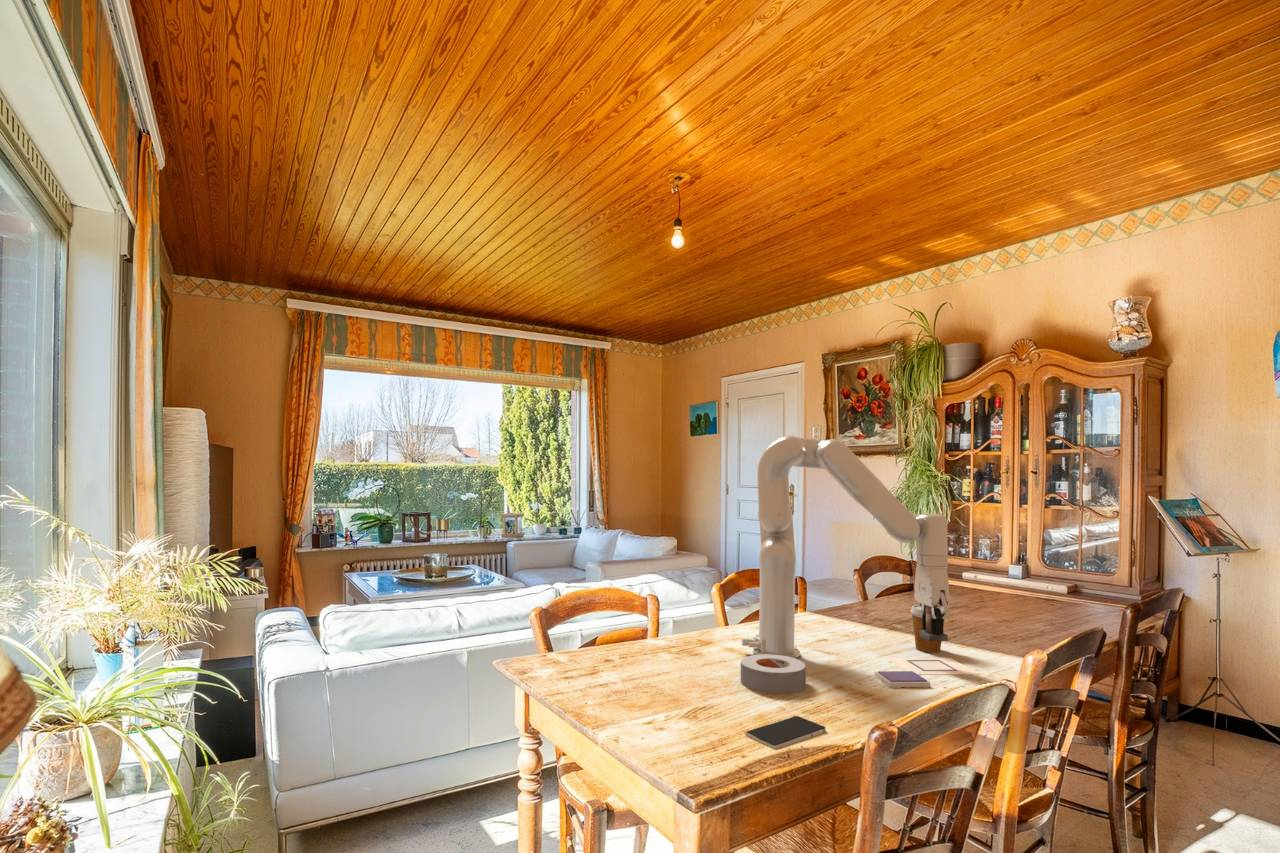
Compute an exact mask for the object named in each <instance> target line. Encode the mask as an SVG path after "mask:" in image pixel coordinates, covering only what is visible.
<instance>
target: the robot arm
mask: <svg viewBox="0 0 1280 853" xmlns="http://www.w3.org/2000/svg"><path fill="white" fill-rule="evenodd" d="M760 456H761V457H760V459H759V462H758V465H757V498H758V499H757V500H758V512H757V517H758V521H759V532H760V544H761V545H760V547H761V548H760V552H759V560H758V561H759V562H758V563H759V606H758V607H759V614H758V617H759V618H758V627H759V628H758V634H755V637H752V638H741V646H742V647H748V648H753V649H752V652H753V655H760V654H771V655H781V656H787V657H792V658H796V659H798V658H799V657H800V656H801V651H800V649H799V648H796V647H795V612H796V611H795V609H796V608H795V607H796V606H795V604H796V602H795V601H796V600H795V599H796V596H795V593H796V592H795V590H796V567H797V566H796V564H797V563H796V561H797V560H796V558H797V557H796V556H797V554H796V547H795V535H794V533H795V532H794V520H793V518H794V516H793V509H792V506H791V501H790V481H789V480H790V479H789V474H790V471H791V468H793V467H796V468H807V469H808V468H809V469H817V470H818V469H819V470H820V469H823V470H825V471H826V472H827V473H828V474H829V475H830V476H831V477H832V478H833V479H834V480H835V481H836V482H837V483H838V484H839V485H840V487H842V488H843V490H844V491H845V492H846V493H847V495H849V497H850V498H852V499H853V500H854V501H855V502H856V503H857V504H859V505H860V506H861V507H863V508H864V509H865V510H866V511H867V512H868V513H870V515H872V517H873V518H874V519H876V521H877V522H878V523H879V524H880V525H881V526H882V528H884V529H885V531H886V533H887V535H889V536H890V537H891V538H892V539H894V540H895V541H897V542H899V543H901V544H908V543H909V544H911V543H913V542H914V541H916V567H915V568H916V569H915V572H914V573H915V576H914V590H913V596H914V597H913V598H914V600H915V601H916V602H918V603H919V605H920V606H921V613H922V629H923V630H926V611H925V609H926V606H929V607H931V610H932V618H931V633H932V634H943V633H944V626H943V619H944V615H945V613H946V614H947V613H948V612H949V604H950V585H949V574H948V568H949V567H948V566H949V564H948V562H949V561H948V557H949V556H948V553H949V552H948V519H947V517H946V516H945V515H943V514H939V513H920V514H918V513H911V512H910V511H909V510H908V509H907V507H905V506H904V505H903V504H902V502H900V500H899V499H898V498H896V497H895V495H894V494H893V493H892V492H891V491H890V490H889V489H888V488H887V487H886V486H885V485H884V483H883V482H882V481H881V480H880V479H879V478H878V477H877V476H876V475H875V474H874V473H873V472H872V470H870V469H869V468H868V466H867V465H865V464H864V463H863V462H862V460H861V459H860V458H859V457H858V456H857V455H856V454H855V453H854V452H853V451H852V450H851V449H850V448H849V447H848V446H847V445H846V443H844V442H843V441H841V440H839V439H836V438H831V439H830V438H829V439H816V438H815V439H814V438H805V437H804V438H803V437H797V436H795V435H791V434H790V435H784V436H782V437H779V438H777V439H776V440H775V441H773V442H772V443H771V444H770V445H769V446H768V447H767V448H766V449H765V450H764V451H763V453H762V455H760ZM935 605H938V606H935ZM936 609H938V610H937V611H936ZM944 620H945V619H944Z"/></svg>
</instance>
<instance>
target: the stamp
mask: <svg viewBox="0 0 1280 853" xmlns="http://www.w3.org/2000/svg"><path fill="white" fill-rule="evenodd" d="M935 606H939V604H937V605H935ZM937 610H938V609H936V611H937ZM925 611H926V630H920V637H922V638H924V639H926V640H928V641H941V642H948V634H946V633H944V632H943V634H932V633H931V618H932V610H931V607H929V606H926V609H925Z"/></svg>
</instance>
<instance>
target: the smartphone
mask: <svg viewBox="0 0 1280 853" xmlns="http://www.w3.org/2000/svg"><path fill="white" fill-rule="evenodd" d="M823 733H826V726H824V725H821V724H819V723H816V722H813V721H811V720H809V719H807V718H805V717H801V716H799V715H794V716H791V717H788V718H784V719H782V720H778V721H775V722H772V723H768V724H766V725H763V726H760V727H755V728H754V729H751V730H747V731H745V733H744V735H745V737H747V738H750V739H751V740H753V741H757V742H758V743H760V744H763V745H765V746H767V747H769V748H771V749H774V750H776V749H779V748H782V747H786V746H788V745H792V744H794V743H797V742H801V741H803V740H806V739H809V738H812V737H817V736H819V735H822V734H823Z"/></svg>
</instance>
